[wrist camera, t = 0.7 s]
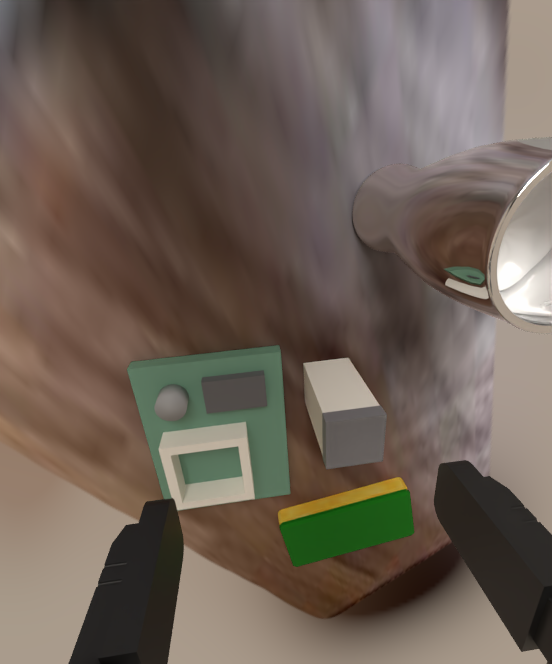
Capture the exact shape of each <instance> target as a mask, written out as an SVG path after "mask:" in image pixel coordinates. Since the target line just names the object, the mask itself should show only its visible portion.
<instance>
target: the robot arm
mask: <svg viewBox="0 0 552 664" xmlns="http://www.w3.org/2000/svg"><path fill="white" fill-rule="evenodd" d="M434 506H435V511H436V514H437V517H438V519H439V521H440V523H441V525H442V526H443V528H444V529H445V531H446V532H447V534H448V536H449V537H450V539H451V540H452V542H453V544H454V545H455V547H456V548H457V550H458V552H459V553H460V555H461V556H462V558H463V559H464V561H465V563H466V564H467V566H468V567H469V569H470V571H471V572H472V574H473V575H474V577H475V579H476V580H477V582H478V583H479V585H480V587H481V588H482V590H483V591H484V593H485V594H486V596H487V598H488V599H489V601H490V602H491V604H492V606H493V607H494V609H495V610H496V612H497V613H498V615H499V617H500V618H501V620H502V622H503V623H504V625H505V626H506V628H507V629H508V631H509V633H510V634H511V636H512V637H513V639H514V640H515V642H516V644H517V645H518V647H519V649H520V650H521V651H522V652H523V651H528V650H534V649H540V651H541V652H542V654H543V655H544V657H545V658H546V660H547V664H552V535H551V534H550V533H549V531H547V529H546V528H545V527H544V526H543V525H542V524H541V523H540V522H537V519H536V517H534V516H533V514H532V513H531V512H530V511H529V510H528V509H527V508H526V509H525V507H524V505H523V504H522V503H521V501H520V500H519V499H518V498H517V497H516V496H515V495H514V494H513V493H512V492H511V491H510V490H509V489H508V488H507V487H505V486H503V485H502V484H500V483H499V482H497V481H496V480H494V479H493V478H491V477H490V476H488V477H483V476H482V475H481V474H480V473H479V471H478V470H477V469H476V468H475V467H474V466H473V465H472V464H471V463H470V462H469V461H466V460H464V461H456V462H449V463H442V464H440V466H439V469H438V476H437V483H436V490H435V497H434ZM183 550H184V544H183V534H182V529H181V525H180V521H179V516H178V512H177V508H176V503H175V500H174V499H173V498H170V499H162V500H155V501H148V502H146V503H145V505H144V507H143V510H142V514H141V517H140V520H139V523H137V524H130V525H126V526H125V527H124V529H123V530H122V531H121V533H120V534H119V535H118V537H117V538H116V539H115V541H114V542H113V543H112V545H111V548H110V551H109V553H108V556H107V559H106V562H105V567H104V569H103V570H102V573H101V576H100V578H99V581H98V587H96V590H95V592H94V595H93V598H92V601H91V603H90V606H89V609H88V612H87V614H86V617H85V620H84V623H83V626H82V628H81V631H80V634H79V637H78V639H77V642H76V645H75V648H74V650H73V654H72V656H71V659H70V661H69V664H167V662H168V656H169V649H170V642H171V636H172V629H173V622H174V615H175V609H176V602H177V595H178V589H179V581H180V574H181V568H182V561H183Z"/></svg>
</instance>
